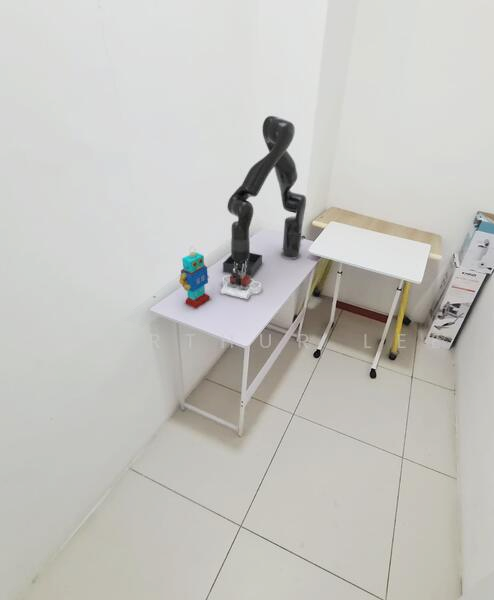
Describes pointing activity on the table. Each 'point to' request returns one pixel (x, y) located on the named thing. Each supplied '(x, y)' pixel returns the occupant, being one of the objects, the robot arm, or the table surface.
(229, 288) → the knuckle duster
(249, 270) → the storage box
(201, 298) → the toy robot
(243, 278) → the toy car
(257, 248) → the table surface
